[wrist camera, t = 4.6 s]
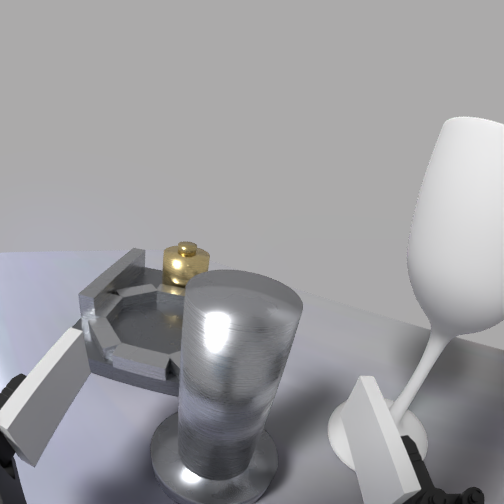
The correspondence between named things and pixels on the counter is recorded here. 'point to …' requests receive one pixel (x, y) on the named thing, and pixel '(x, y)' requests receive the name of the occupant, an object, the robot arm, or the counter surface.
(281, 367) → the flanged metal post
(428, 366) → the wineglass
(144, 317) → the carrier plate
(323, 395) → the counter surface
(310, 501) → the counter surface
